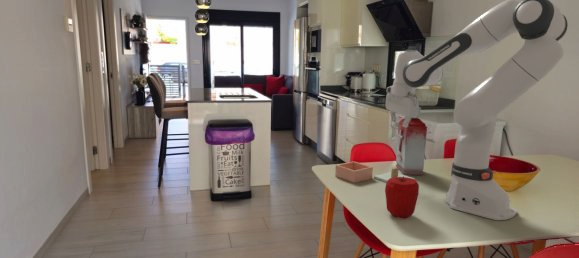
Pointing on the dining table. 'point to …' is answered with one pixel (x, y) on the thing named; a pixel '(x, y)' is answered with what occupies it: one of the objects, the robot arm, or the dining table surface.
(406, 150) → the bottle
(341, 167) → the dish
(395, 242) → the dining table surface
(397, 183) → the apple
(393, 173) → the lid
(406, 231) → the dining table surface
